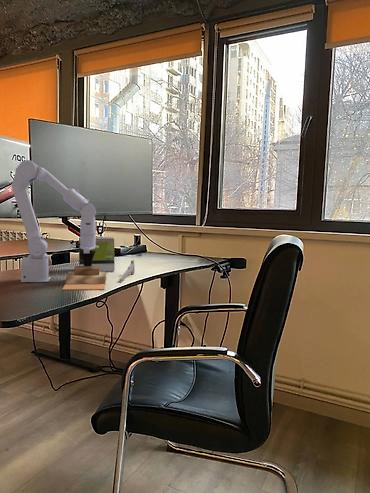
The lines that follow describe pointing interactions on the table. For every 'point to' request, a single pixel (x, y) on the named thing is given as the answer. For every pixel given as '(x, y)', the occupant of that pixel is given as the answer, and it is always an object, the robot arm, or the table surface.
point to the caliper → (128, 271)
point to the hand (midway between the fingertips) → (87, 269)
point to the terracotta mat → (84, 287)
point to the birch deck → (86, 278)
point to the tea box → (102, 254)
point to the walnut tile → (86, 270)
